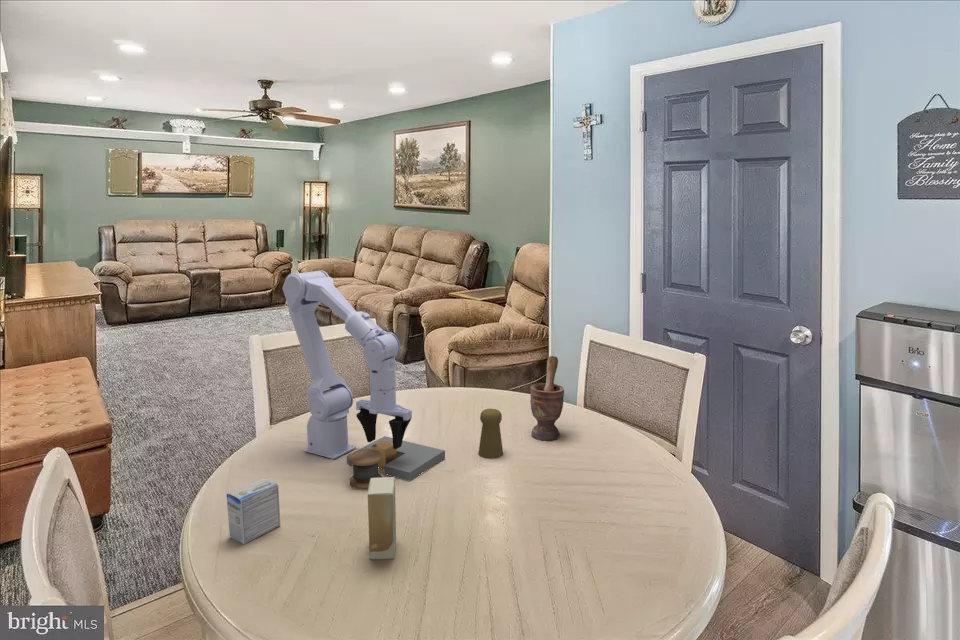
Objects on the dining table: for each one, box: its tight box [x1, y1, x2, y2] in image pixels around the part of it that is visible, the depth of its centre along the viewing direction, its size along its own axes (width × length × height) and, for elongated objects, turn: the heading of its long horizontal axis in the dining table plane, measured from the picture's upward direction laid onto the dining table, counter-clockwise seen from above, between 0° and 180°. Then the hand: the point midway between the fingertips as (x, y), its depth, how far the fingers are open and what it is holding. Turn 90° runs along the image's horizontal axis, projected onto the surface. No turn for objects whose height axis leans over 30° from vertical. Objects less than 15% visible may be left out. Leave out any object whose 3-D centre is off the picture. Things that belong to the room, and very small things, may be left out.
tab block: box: [372, 440, 397, 470], centre depth 138 cm, size 4×4×5 cm
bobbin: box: [348, 449, 383, 490], centre depth 130 cm, size 7×7×6 cm
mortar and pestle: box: [529, 355, 565, 441], centre depth 157 cm, size 12×9×20 cm
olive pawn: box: [477, 408, 504, 460], centre depth 144 cm, size 6×6×11 cm
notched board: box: [346, 436, 446, 482], centre depth 141 cm, size 18×14×2 cm
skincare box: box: [367, 476, 397, 560], centre depth 103 cm, size 6×4×12 cm
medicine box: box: [226, 477, 281, 545], centre depth 109 cm, size 8×4×9 cm, turn 145°
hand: (384, 444), depth 138 cm, fingers open, 7 cm apart
